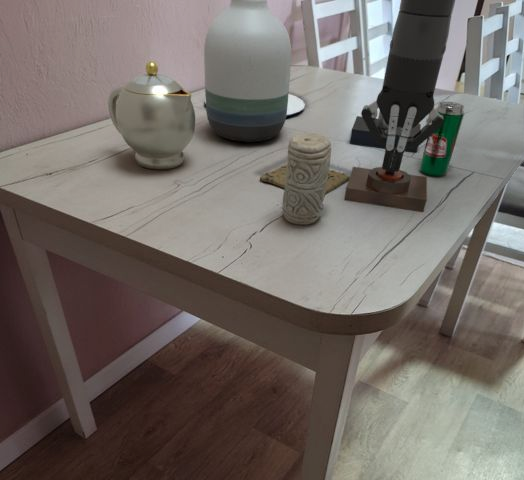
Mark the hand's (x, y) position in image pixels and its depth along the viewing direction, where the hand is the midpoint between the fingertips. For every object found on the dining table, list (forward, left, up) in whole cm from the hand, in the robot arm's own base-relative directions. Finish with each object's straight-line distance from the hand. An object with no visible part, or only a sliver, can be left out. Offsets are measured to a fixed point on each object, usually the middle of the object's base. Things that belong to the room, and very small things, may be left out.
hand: (389, 172), depth 80 cm
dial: (+2, -31, -1) cm, 31 cm away
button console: (0, -1, -4) cm, 5 cm away
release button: (0, 0, -2) cm, 2 cm away
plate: (+35, -44, -5) cm, 57 cm away
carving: (+12, +13, -5) cm, 18 cm away
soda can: (-8, -15, -5) cm, 18 cm away
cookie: (+14, -2, -4) cm, 15 cm away
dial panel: (+2, -30, -4) cm, 31 cm away
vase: (+31, -22, -4) cm, 38 cm away
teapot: (+43, -1, -5) cm, 43 cm away
